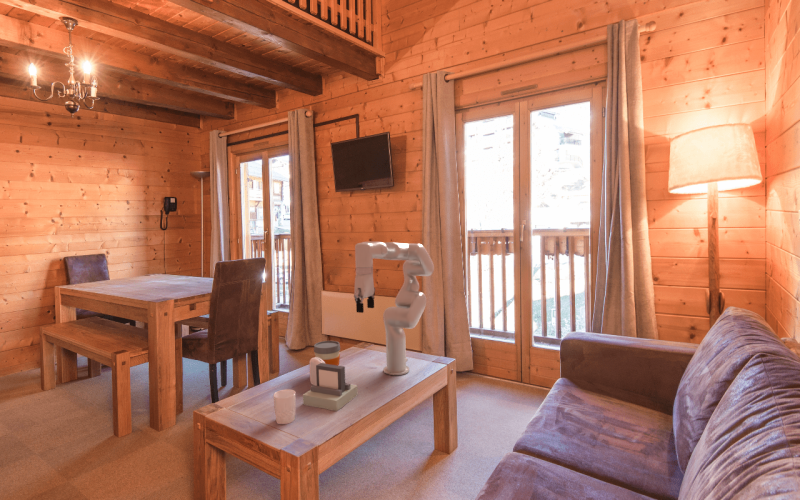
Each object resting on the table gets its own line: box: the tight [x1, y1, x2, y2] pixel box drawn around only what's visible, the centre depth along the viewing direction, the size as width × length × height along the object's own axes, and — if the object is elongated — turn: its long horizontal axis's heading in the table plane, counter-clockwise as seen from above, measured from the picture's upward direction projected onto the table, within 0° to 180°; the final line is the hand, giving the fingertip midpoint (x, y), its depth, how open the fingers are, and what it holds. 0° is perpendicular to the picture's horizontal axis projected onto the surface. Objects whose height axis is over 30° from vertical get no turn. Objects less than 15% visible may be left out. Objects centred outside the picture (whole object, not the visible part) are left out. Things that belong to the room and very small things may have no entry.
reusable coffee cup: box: [313, 340, 341, 366], centre depth 192 cm, size 13×13×15 cm
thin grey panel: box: [316, 363, 346, 393], centre depth 164 cm, size 3×12×10 cm, turn 66°
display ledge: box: [302, 382, 359, 412], centre depth 164 cm, size 16×16×6 cm
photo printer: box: [309, 356, 325, 386], centre depth 180 cm, size 10×4×12 cm, turn 39°
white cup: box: [273, 389, 297, 425], centre depth 147 cm, size 8×8×10 cm
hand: (365, 310), depth 175 cm, fingers open, 9 cm apart
